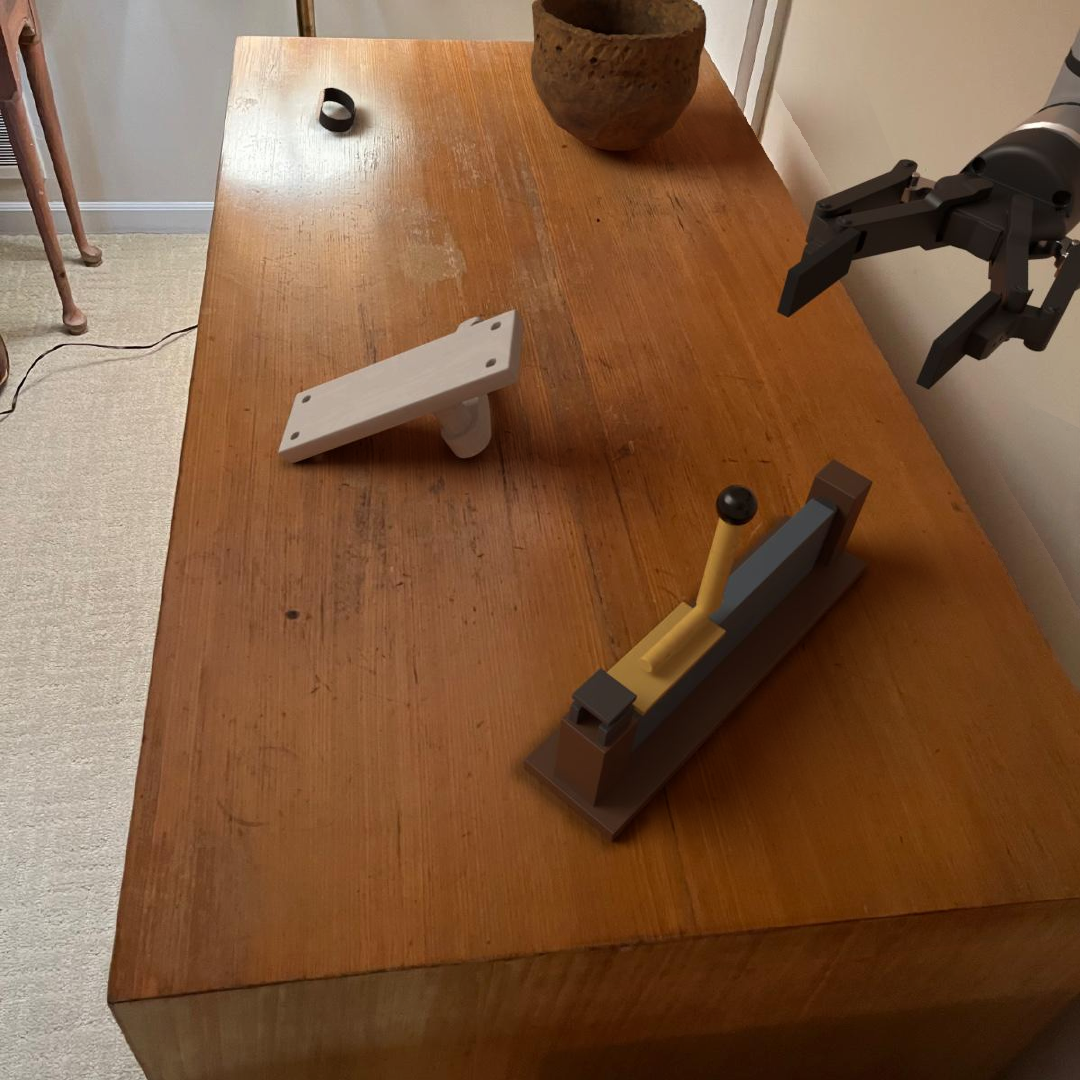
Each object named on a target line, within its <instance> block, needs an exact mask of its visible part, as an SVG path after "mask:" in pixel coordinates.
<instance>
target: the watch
mask: <svg viewBox="0 0 1080 1080" xmlns="http://www.w3.org/2000/svg"><path fill="white" fill-rule="evenodd" d="M326 102H331V103H332V102H333V103H337V104H339V105H340V106H342V107H343V108H344V109H347V111H348V112H349V115H350V116H349V117H348V118H343V119H342V118H334V117H331V116H329V115H327V114H326V113H325V112H324V110H323V108H324V103H326ZM316 105H317V106H316V111H315V119H314V120H315V121H317V122H318V123H319V124H320V126H321V127H322V128H323V129H325V130H326V131H329V132H332V133H338V134H339V133H340V134H341V133H346V132H348V131H349V130H350V129H352V127H353V126H354V123H355V118H356V113H357V107H356V105H355V101H354V99H353V98H352V97H351V96H350V95H349V94H348V93H347V92H345V91H344V90H341V89H339V88H337V87H326V88H324V89H322V90H320V91H319V93H318V99H317V104H316Z"/></svg>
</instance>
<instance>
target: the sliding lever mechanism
mask: <svg viewBox="0 0 1080 1080" xmlns="http://www.w3.org/2000/svg"><path fill="white" fill-rule="evenodd" d="M872 485H873V480H871V479H869V478H868V477H866V476H864V475H862V474H861V473H859V472H857V471H855V469H851V468H850V467H848V466H847V465H845V464H843V463H842V462H839V461H838V460H836V459H834V458H832V459H831V460H830V461H829V462H828V463H827V464H826V465H825V466H824V467H823V468H822V469H820V470H819V471H818V472H817V473H816V474H815V475H814V478H813V481H812V483H811V486H810V489H809V492H808V494H807V497H806V500H805V503H804V505H803V506H802V507H801V508H800V509H799V510H798V511H797V512H796V513H795V514H794V515H793V516H792V517H791V516H789V515H788V514H785V515H784V516H783V517H782V518H781V519H780V520H778V521H777V522H776V523H775V524H774V525H773V526H772V527H771V528H769V530H768V531H766V533H765V534H764V535H763V536H762V537H760V538H759V539H758V540H757V541H756V542H755V543H754V544H753V545H751V546H750V547H749V548H748V549H747V551H745V552H744V553H743V554H741V556H740V557H739V558H738V559H737V560H736V561H734V562H733V564H732V568H731V571H730V574H729V578H728V581H727V584H726V587H725V591H724V594H723V597H722V598H723V604H722V605H721V606H720V607H719V609H718V610H717V611H716V612H714V613H713V614H712V615H711V616H709V617H708V618H707V619H706V620H705V621H704V622H703V623H702V624H701V625H700V626H699V627H698V628H697V629H696V630H695V631H694V632H693V633H692V634H691V635H690V636H689V637H688V638H687V639H686V640H685V641H684V642H682V643H681V644H680V645H679V646H678V647H677V648H676V649H675V650H674V651H673V652H672V653H671V654H670V655H669V656H668V657H667V658H666V659H665V660H664V661H663V662H662V663H661V664H660V665H659V666H658V667H656V668H655V669H654V670H653V671H652V672H651V673H648V672H645V671H644V670H643V669H642V668H641V667H640V665H639V659H640V658H641V657H642V656H643V655H644V654H645V653H646V652H647V651H649V650H650V649H651V648H652V647H653V646H654V645H655V644H656V643H657V642H658V641H659V640H660V639H661V638H662V637H663V636H664V635H666V634H667V633H668V632H669V631H670V630H671V629H672V628H673V627H674V626H675V625H676V624H677V623H678V622H679V621H680V620H681V619H683V618H684V617H685V616H686V615H687V614H688V613H689V612H690V611H691V610H692V609H693V608H694V607H695V606H696V605H697V604H696V600H697V597H696V598H695V599H694V600H692V602H691V603H690V604H687V603H686V602H684V601H682V602H680V603H679V605H678V606H677V607H675V609H674V610H672V612H670V613H669V614H668V615H667V616H666V617H665V618H664V619H662V621H660V622H659V623H658V624H657V625H656V626H655V627H654V628H653V629H652V630H651V631H650V632H649V633H648V634H646V636H644V637H643V638H642V639H641V640H640V641H639V642H638V643H636V645H635V646H634V647H633V648H631V650H630V651H628V652H627V653H626V654H625V655H624V656H623V657H622V658H621V659H619V660H618V661H617V662H616V663H615V664H614V665H613V666H612V667H611V668H610V669H609V670H608V671H605V670H604V669H603V668H600V667H599V669H598V670H596V671H595V672H594V673H593V674H592V675H591V676H590V677H589V678H587V680H585V682H583V683H582V684H581V685H580V686H579V687H578V688H577V689H576V690H575V691H574V692H573V693H572V694H571V699H573V702H571V704H570V707H569V708H570V709H569V710H568V711H567V712H566V713H565V714H564V715H563V716H562V717H561V718H560V723H559V724H560V725H559V726H558V727H557V728H556V729H555V730H554V731H553V732H552V733H550V734H549V735H548V736H547V737H546V738H545V739H544V740H543V741H542V742H541V743H539V744H538V746H536V747H535V749H534V750H532V751H531V752H530V753H529V754H528V755H527V756H526V757H525V758H524V759H523V769H525V771H527V772H528V773H529V774H530V775H531V776H533V777H534V778H535V779H537V781H539V782H540V783H541V784H542V785H543V786H544V787H546V788H547V789H548V790H549V791H550V792H551V793H553V794H554V795H555V796H556V797H558V798H559V799H560V800H561V801H563V803H565V804H566V805H567V806H568V807H570V808H571V809H572V810H573V812H576V813H577V814H578V815H579V816H580V817H581V818H583V819H584V820H585V822H587V823H588V824H590V825H591V826H592V827H593V828H594V829H596V830H597V831H598V832H599V833H600V834H601V835H603V836H604V837H605V838H606V839H608V840H609V841H610V843H611V842H613V841H614V840H616V838H617V837H618V836H619V835H620V834H621V833H622V832H623V831H624V830H625V828H626V827H627V826H628V825H629V824H630V823H631V822H632V821H633V820H634V819H635V818H636V817H637V816H638V815H639V814H640V812H641V811H642V810H643V809H644V808H645V807H646V806H647V805H648V804H649V803H650V802H651V801H652V800H653V798H654V797H656V795H658V793H659V792H660V791H661V790H662V789H663V788H664V787H665V786H666V784H668V782H670V780H671V779H672V778H673V777H674V776H675V775H676V774H677V773H678V772H679V771H680V770H681V769H682V768H683V766H684V765H686V763H687V762H688V761H689V760H690V759H691V758H692V757H693V756H694V755H695V754H696V752H698V750H699V749H700V748H701V747H702V746H703V745H704V744H705V743H706V742H707V741H708V740H709V739H710V737H711V736H712V735H713V734H714V733H715V732H716V731H717V730H718V729H719V728H720V727H721V726H722V725H723V723H725V721H726V720H727V719H728V718H729V717H730V716H731V715H732V714H733V713H734V712H735V711H736V710H737V708H739V706H740V705H741V704H742V703H743V702H744V701H745V700H746V699H747V698H748V697H749V696H750V694H752V692H753V691H754V690H756V688H757V687H758V686H760V684H761V683H762V682H763V681H764V680H765V679H766V677H768V675H769V674H770V673H772V671H773V670H774V669H775V668H776V667H777V666H778V665H779V663H780V662H782V660H783V659H785V657H786V656H787V655H788V654H789V653H790V652H791V651H792V650H793V649H794V647H796V645H797V644H798V643H799V642H800V641H801V640H802V639H803V638H804V637H805V636H806V635H807V633H808V632H809V631H811V630H812V628H813V627H814V626H815V625H817V623H818V621H820V620H821V618H822V617H824V615H825V614H826V613H828V611H829V610H830V609H831V608H832V607H833V606H834V605H835V603H837V601H839V600H840V598H841V597H842V596H843V595H844V594H845V593H846V591H848V589H850V587H851V586H852V585H853V584H854V583H855V582H856V581H857V580H859V578H860V577H861V576H862V575H863V574H864V572H865V569H866V568H867V565H868V563H867V562H865V561H863V560H861V559H860V558H859V557H857V556H855V555H853V554H851V553H850V552H849V551H847V550H846V548H847V545H848V543H849V540H850V538H851V535H852V532H853V530H854V528H855V526H856V523H857V521H858V519H859V517H860V514H861V511H862V509H863V507H864V504H865V503H866V499H867V497H868V495H869V492H870V490H871V488H872Z"/></svg>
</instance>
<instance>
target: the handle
mask: <svg viewBox="0 0 1080 1080" xmlns="http://www.w3.org/2000/svg"><path fill="white" fill-rule="evenodd" d="M523 336H524V324H523V320H522V319H521V317H520V314H519V312H518V311H517V310H516V309H515V308H514V309H511V310H508V311H506V312H504V313H501V314H498V315H496V316H493V317H491V318H488V319H486V320H484V319H483V318H482V317H480V316H474V317H471V318H468V319H467V320H465V321H462V322H461V323H460V324H459V325H458V327H457V328H456V331H454V332H452V333H449V334H446V335H444V336H441V337H439V338H436V339H434V340H431V341H429V342H427V343H424V344H421V345H419V346H415V347H413V348H411V349H408V350H405V351H403V352H401V353H398V354H396V355H394V356H391V357H388V358H385V359H383V360H381V361H380V360H379V361H377V362H375V363H373V364H370V365H367V366H365V367H363V368H360V369H357V370H355V371H352V372H350V373H347V374H345V375H342V376H340V377H336V378H334V379H332V380H329V381H326V382H324V383H322V384H318V385H316V386H314V387H311V388H307V389H306V390H304V391H301V392H298V393H296V394H295V398H294V400H293V401H294V402H293V404H292V408H291V410H290V414H289V417H288V420H287V423H286V426H285V429H284V432H283V435H282V438H281V442H280V444H279V448H278V450H277V453H278V455H279V456H280V457H281V458H282V459H284V460H285V461H287V462H288V463H292V464H294V463H297V462H300V461H303V460H305V459H308V458H311V457H314V456H316V455H319V454H322V453H325V452H327V451H331V450H334V449H336V448H339V447H342V446H345V445H347V444H350V443H352V442H353V443H354V442H355V441H358V440H359V441H360V440H362V439H364V438H367V437H370V436H372V435H375V434H378V433H381V432H384V431H386V430H389V429H392V428H395V427H397V426H400V425H403V424H405V423H408V422H412V421H414V420H417V419H420V418H422V417H425V416H428V415H431V414H433V416H434V417H435V418H436V419H437V421H438V422H439V424H440V425H441V429H440V436H441V437H442V439H443V440H444V442H445V443H446V445H447V446H448V448H450V450H451V451H452V452H453V453H454V455H455V456H456V457H458V458H460V459H467V458H472V457H474V456H476V455H478V454H480V453H481V452H483V450H485V449H486V448H487V447H488V445H489V443H490V442H491V439H492V424H491V423H492V422H491V421H492V420H491V408H490V401H489V396H488V394H489V393H492V392H495V391H497V390H501V389H503V388H505V387H508V386H511V385H513V384H517V383H519V375H520V365H521V355H522V347H523V338H524V337H523Z"/></svg>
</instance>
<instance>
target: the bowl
mask: <svg viewBox="0 0 1080 1080" xmlns="http://www.w3.org/2000/svg"><path fill="white" fill-rule="evenodd" d="M531 13H532V27H533V48H532V53H531V56H530V73H531V81H532V83H533V86H534V88H535V91H536V93H537V95H538V98H539V99H540V101H541V102H542V104H543V105H544V107H545V110H546V111H547V112H548V114H549V116H550V117H551V119H552V121H553V122H554V124H555V125H557V126H558V127H559V128H561V129H563V130H564V131H565V132H567V133H568V134H570V135H571V136H573V137H575V138H576V139H578V141H580V142H581V143H582V144H584V145H587V146H588V147H591V148H596V149H601V150H605V151H617V152H623V151H624V152H625V151H632V150H636V149H640V148H643V147H645V146H648V145H650V144H652V143H653V142H654V141H656V140H657V139H659V138H661V137H662V136H663V135H665V134H666V133H667V132H669V131H670V130H672V129H673V128H674V127H675V125H676V124H677V122H678V120H679V119H680V117H681V115H683V113H684V111H685V110H686V109H687V107H688V106H689V105H690V104H691V102H692V100H693V98H694V97H695V96H694V95H695V94H696V92H697V88H698V83H699V79H700V78H699V77H700V66H701V56H702V53H703V49H704V47H705V43H706V37H707V36H706V35H707V16H706V12H705V9H703V5H702V4H699V3H698V1H695V0H534V1H533V2H532V3H531Z"/></svg>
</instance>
